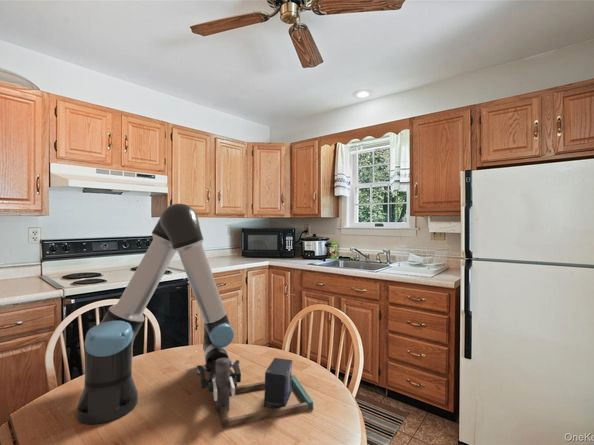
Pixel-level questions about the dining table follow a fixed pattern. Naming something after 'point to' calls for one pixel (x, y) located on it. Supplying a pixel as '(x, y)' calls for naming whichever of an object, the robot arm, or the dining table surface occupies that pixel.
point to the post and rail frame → (224, 390)
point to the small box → (278, 383)
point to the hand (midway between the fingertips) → (224, 394)
